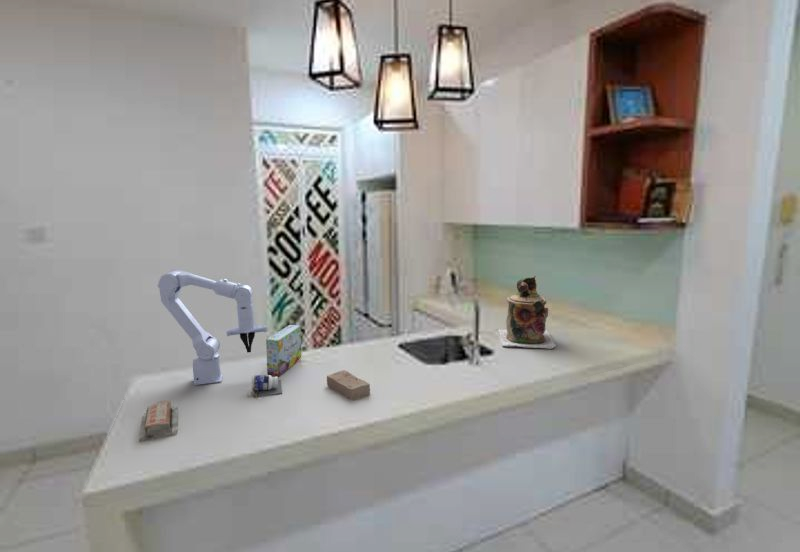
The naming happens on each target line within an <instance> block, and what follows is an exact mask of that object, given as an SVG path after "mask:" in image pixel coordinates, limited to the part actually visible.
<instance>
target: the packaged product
mask: <svg viewBox="0 0 800 552" xmlns="http://www.w3.org/2000/svg"><path fill="white" fill-rule="evenodd" d="M142 416H143V417H142V423H141V429H140V434H139V440H138V441H139V442H140V443H141V442H147V441H151V440H155V439H162V438H165V437H166V438H167V437H172V436H175V435H176V436H177V435H178V430H179V429H178V427H179V426H178V425H179V406H178V405H174V406H171V401H170V400H160V402H156V403H154V404H151V405H150V406H148V407H147V408H146V412H144V413H143V415H142Z"/></svg>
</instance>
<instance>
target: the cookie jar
mask: <svg viewBox="0 0 800 552" xmlns="http://www.w3.org/2000/svg"><path fill="white" fill-rule="evenodd" d="M536 276H537V275H536V274H534V276H532V277H531V276H530V277H528V276H527V277H523V278H520V279H519V280H518V281H517V282H516V289H517V291H518V292H516V293H515V294H514V295H512V294H511V295H510V296H508V297H507V298H506V302H507V303H508V307H507V308H508V309H507V314H506V320H505V324H506V325H505V327H506V329H498V333H499V341H500V345H501V347H520V348H528V349H529V348H531V349H532V348H533V349H548V350H551V349H553V348H555V347H556V346H557V345H556V343H555V342H554V340H553V339H552V337H551V335H550V333H549V331H548V330H547V329H546V322H547V318H548V317H549V308H548V307H545V305H546V304H547V300H546V298H545V297H542V296H541V295H540V294H538V292H537V285H538V284H537V280H536Z"/></svg>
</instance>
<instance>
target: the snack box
mask: <svg viewBox="0 0 800 552" xmlns="http://www.w3.org/2000/svg"><path fill="white" fill-rule="evenodd" d="M301 331H302V329H301V325H296V324H289V325H287V326H286V327H284V328H282V329H281V330H280V331H277V332H276V333H275V334H272V335H271V336H269V337H267V339H266V340H265V346H266V349H265V350H266V370H267V373H266V375H271V376H272V377H274V376H277V377H278V378H279V377H281V376H282V375H283V374H284V373H285V372H287V371H288V370H289V369H290V368H291V367H293V366H294V365H295V364H296V363H298V362H299V361H300V360H301V359H302V332H301ZM300 358H301V359H300ZM299 359H300V360H299ZM298 360H299V361H298ZM297 361H298V362H297ZM286 370H287V371H286Z"/></svg>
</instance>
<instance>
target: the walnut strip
mask: <svg viewBox="0 0 800 552" xmlns="http://www.w3.org/2000/svg"><path fill="white" fill-rule="evenodd" d="M253 398H258V390H253Z"/></svg>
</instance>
